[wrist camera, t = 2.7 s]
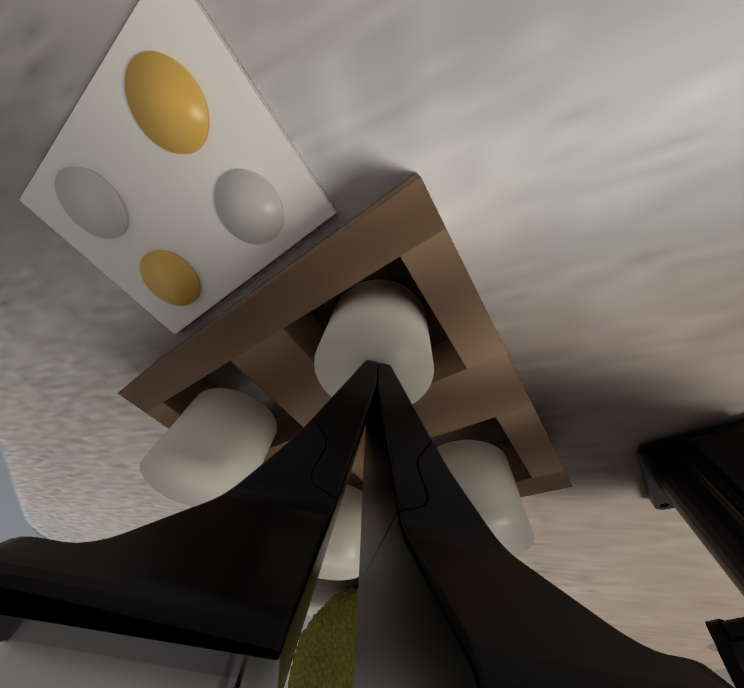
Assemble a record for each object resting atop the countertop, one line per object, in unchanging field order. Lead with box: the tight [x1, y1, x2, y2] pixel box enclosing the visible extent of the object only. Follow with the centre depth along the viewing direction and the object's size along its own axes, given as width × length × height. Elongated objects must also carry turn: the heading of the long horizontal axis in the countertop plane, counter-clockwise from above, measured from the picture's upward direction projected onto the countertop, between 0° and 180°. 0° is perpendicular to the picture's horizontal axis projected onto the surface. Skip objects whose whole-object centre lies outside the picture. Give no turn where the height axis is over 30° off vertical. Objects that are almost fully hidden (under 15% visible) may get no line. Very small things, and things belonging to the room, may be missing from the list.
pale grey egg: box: [436, 440, 534, 556], centre depth 12 cm, size 4×4×3 cm
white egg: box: [314, 280, 434, 404], centre depth 11 cm, size 4×4×3 cm
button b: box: [318, 484, 362, 580], centre depth 15 cm, size 4×4×3 cm
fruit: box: [288, 587, 358, 688], centre depth 26 cm, size 16×14×15 cm
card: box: [19, 0, 336, 334], centre depth 10 cm, size 7×10×1 cm
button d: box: [140, 388, 277, 507], centre depth 12 cm, size 4×4×3 cm
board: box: [118, 173, 572, 497], centre depth 15 cm, size 16×16×2 cm
